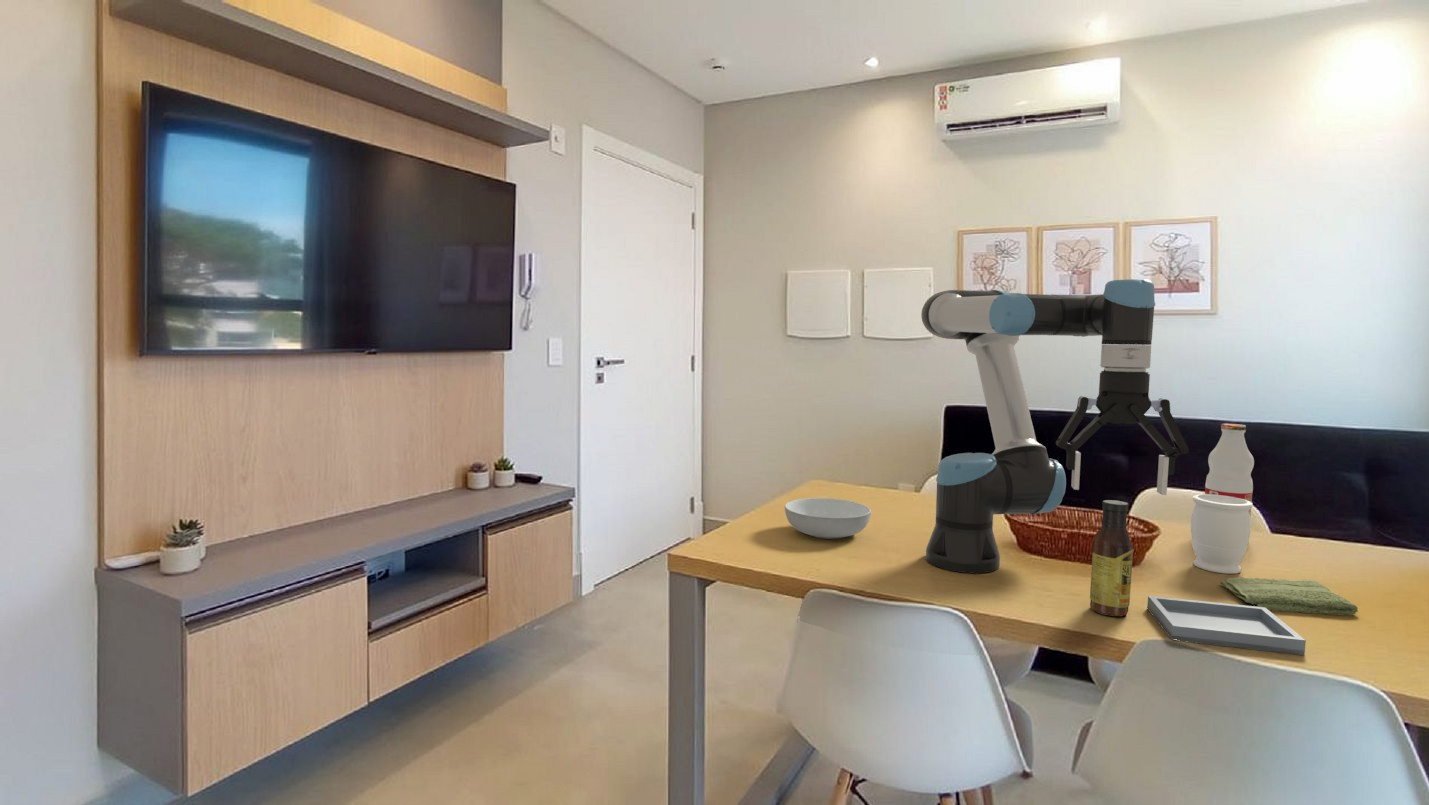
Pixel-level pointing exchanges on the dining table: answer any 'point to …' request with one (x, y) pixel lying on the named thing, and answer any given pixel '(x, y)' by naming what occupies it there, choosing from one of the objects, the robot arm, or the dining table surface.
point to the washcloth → (1290, 596)
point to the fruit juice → (1231, 465)
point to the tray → (1225, 625)
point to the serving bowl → (827, 517)
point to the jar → (1220, 532)
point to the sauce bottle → (1112, 562)
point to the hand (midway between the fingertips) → (1117, 490)
